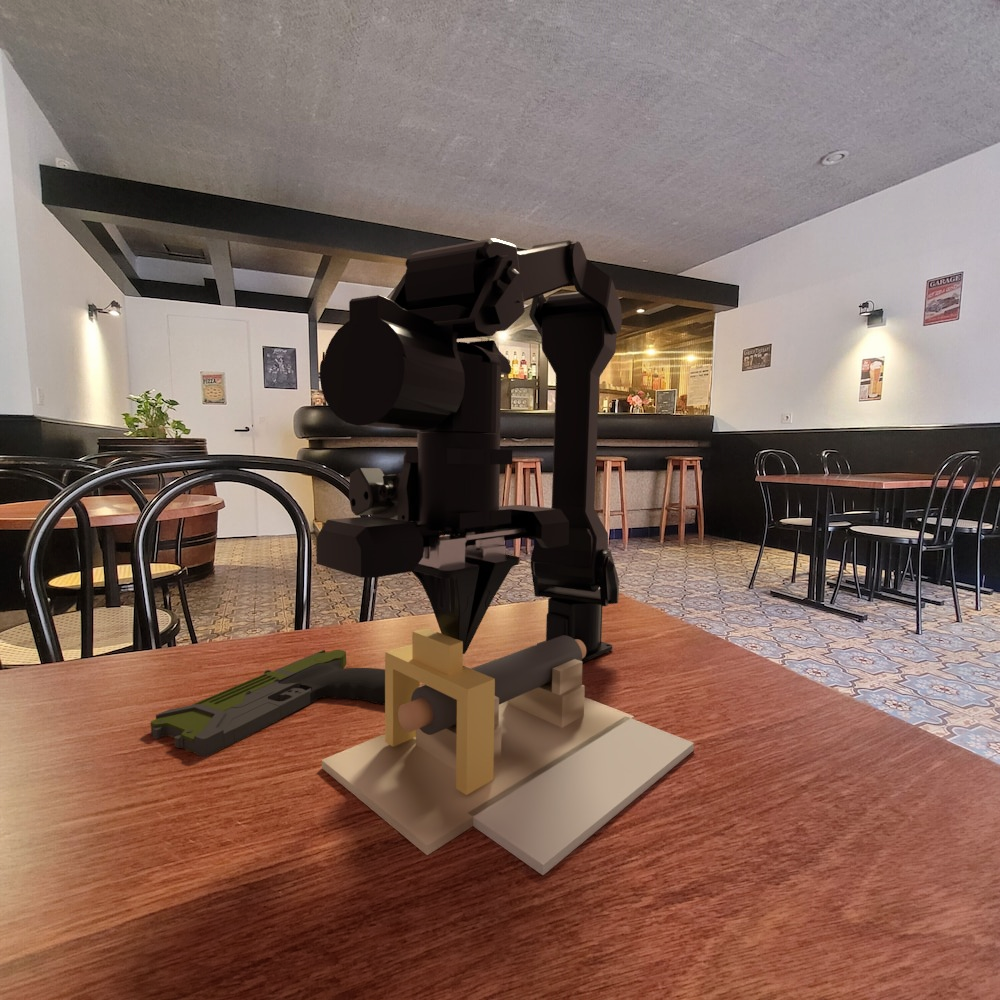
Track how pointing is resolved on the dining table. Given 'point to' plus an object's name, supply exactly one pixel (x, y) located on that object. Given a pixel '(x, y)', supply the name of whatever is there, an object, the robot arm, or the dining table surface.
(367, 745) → the holder
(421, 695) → the dark grey cylinder rod
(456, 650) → the strap
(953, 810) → the dining table surface
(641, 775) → the mat
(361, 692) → the gun
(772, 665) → the dining table surface
